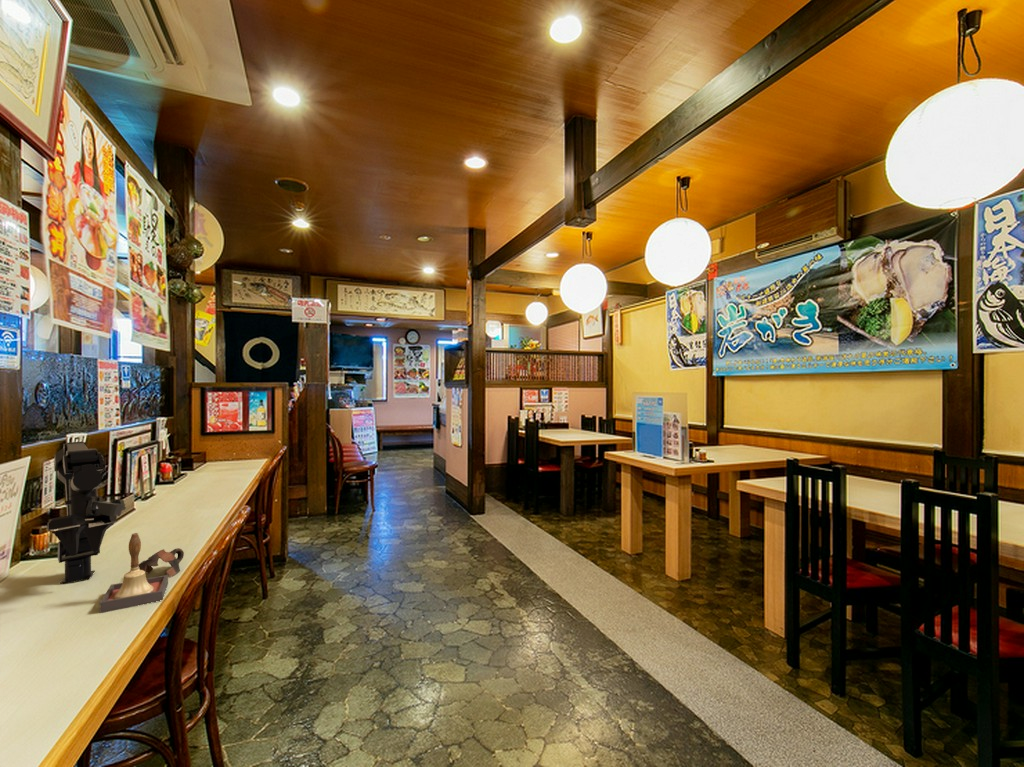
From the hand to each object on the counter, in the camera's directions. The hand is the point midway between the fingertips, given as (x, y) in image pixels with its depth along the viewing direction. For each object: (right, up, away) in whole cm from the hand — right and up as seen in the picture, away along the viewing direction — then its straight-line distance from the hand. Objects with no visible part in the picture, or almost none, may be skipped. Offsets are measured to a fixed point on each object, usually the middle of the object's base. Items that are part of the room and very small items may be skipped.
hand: (85, 553), depth 125 cm
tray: (+14, -12, 0) cm, 18 cm away
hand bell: (+13, -11, 0) cm, 17 cm away
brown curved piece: (+9, -12, +16) cm, 22 cm away
